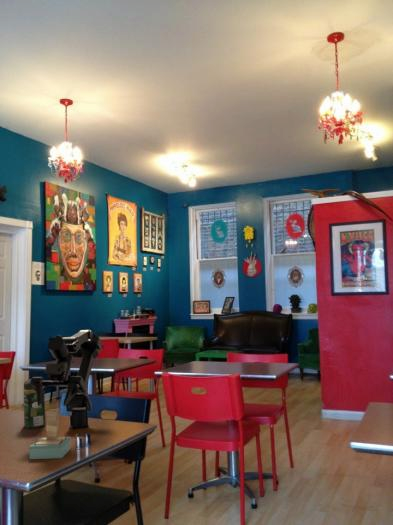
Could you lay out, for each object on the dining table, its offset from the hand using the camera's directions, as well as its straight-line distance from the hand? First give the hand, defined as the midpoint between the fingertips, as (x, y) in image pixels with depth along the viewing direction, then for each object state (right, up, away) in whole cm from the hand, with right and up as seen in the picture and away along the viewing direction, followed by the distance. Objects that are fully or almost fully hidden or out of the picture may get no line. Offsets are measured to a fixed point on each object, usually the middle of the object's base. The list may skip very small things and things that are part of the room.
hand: (51, 405), depth 166 cm
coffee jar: (-16, -17, +29) cm, 37 cm away
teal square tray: (+3, -12, -11) cm, 17 cm away
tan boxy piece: (+3, -9, -11) cm, 15 cm away
